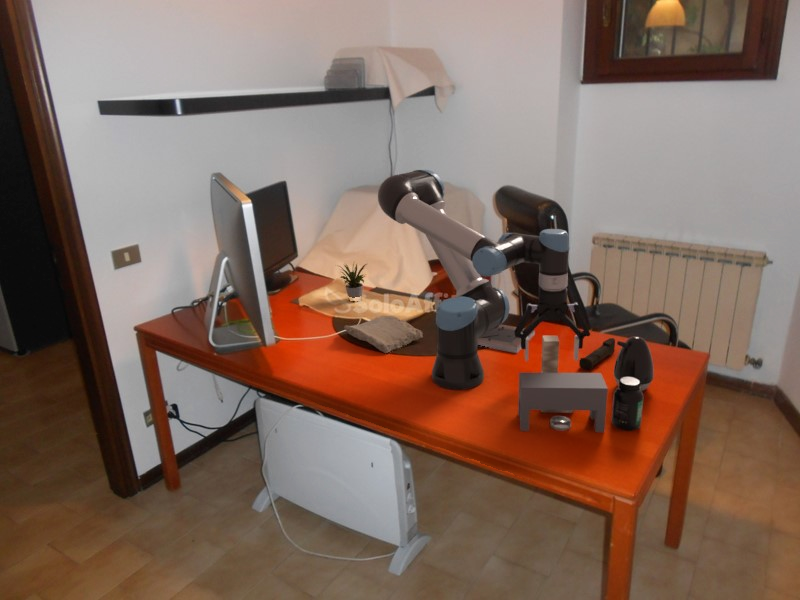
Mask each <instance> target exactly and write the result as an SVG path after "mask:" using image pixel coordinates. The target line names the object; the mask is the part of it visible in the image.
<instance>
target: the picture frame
mask: <svg viewBox="0 0 800 600" xmlns="http://www.w3.org/2000/svg"><path fill="white" fill-rule="evenodd" d="M516 328H517V326H512V325H506V324H501V325H500V326H499V327H497V328H495V329H492V330H491V331H489V332H487V333H485V334H484V335H482V336H480V337H478V339H477V341H478V345H481V346H480V347H482V346H485V347H484V348H487V347H489V348H488V349H492V348H493V350H499V351H504V352H509V353H514V354H518V353H519V352H520V351H521V350H523V349H522V348H521V338H520V337H515V333H514V331H515V329H516ZM525 328H526V327H524V328H523V330H524V329H525ZM523 330H522V331H523ZM535 334H536V331H535V329H534V330H533V331H532V332H531V333H530V334H529V335H528V339H529V341H531V340H532V338H533V337H534V336H535Z"/></svg>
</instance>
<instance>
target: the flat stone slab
mask: <svg viewBox="0 0 800 600" xmlns="http://www.w3.org/2000/svg"><path fill="white" fill-rule="evenodd" d="M344 330H345V331H346V333H348V335H350V336H352V337H353V338H356V339H358V340H360V341H364V342H367V343H368V344H370V345H372V346H374V347H375V348H376V349H377V350H379V351H380V352H383V353H385V354H386V353H388V352H390V351H391V350H393V349H396V348H400V347H402V345H406V346H407V344H408V345H409V344H411V342H413V341H417V340H419V339H422V338H424V336H423V334H424V333H423V331H422V330H420V329H418V328H415V327H414V326H412V325H411V324H410V323H409V322H407V321H406V320H403V319H400V318H398V317H396V316H394V315H381V316H378V317H375V318H373V319H371V320H368V321H366V322H362V323H360V324H354V325H344ZM402 348H403V347H402ZM400 349H401V348H400ZM390 353H391V352H390Z"/></svg>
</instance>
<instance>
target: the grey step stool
mask: <svg viewBox="0 0 800 600" xmlns="http://www.w3.org/2000/svg"><path fill="white" fill-rule="evenodd" d="M608 391H609V389H608V386H607V383H606V381H605V379H604V377H603V375H602V373H601V372H558V373H541V372H520V371H519V372H518V401H517V402H518V405H517V406H518V407H517V408H518V409H517V412H518V413H517V414H518V419H519V429H520V431H521V432H529V431H530V411H536V410H538V411H541V410H573V411H589V416H590V420H594V426H593V428H594V431H595V433H605V427H606V415H607V402H608Z"/></svg>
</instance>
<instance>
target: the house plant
mask: <svg viewBox="0 0 800 600" xmlns="http://www.w3.org/2000/svg"><path fill="white" fill-rule="evenodd" d="M354 264H355V261H353V264H352V267H353V269H352V271H351V270H350V268H349V266H348V264H346V263H345V262H344V264H343V266H344V268H345V269H346V270H345V269H344V268H343V267H341V266H340V265H337V264H336V266H337V267H340V268H341V270H342V271H341V273H342V274H343V275H341V276H340V277H339V279H340V278H341V279H340V281H342V280H343V281H344V285H345V290H346V293H347V297H348V296H349V297H352V298H355V297H360V296H362V297H363V290H364V289H363V288H364V283H365V280H364V278H366V275H364V274H361V272H362V271H363V270H365V269H366V268H365V267H366V266H367V265H368V263H365V264H364V265H362V267H361V268H360V269H359V271H358V264H357V263H356V264H355V267H354ZM343 271H344V272H343Z"/></svg>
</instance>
